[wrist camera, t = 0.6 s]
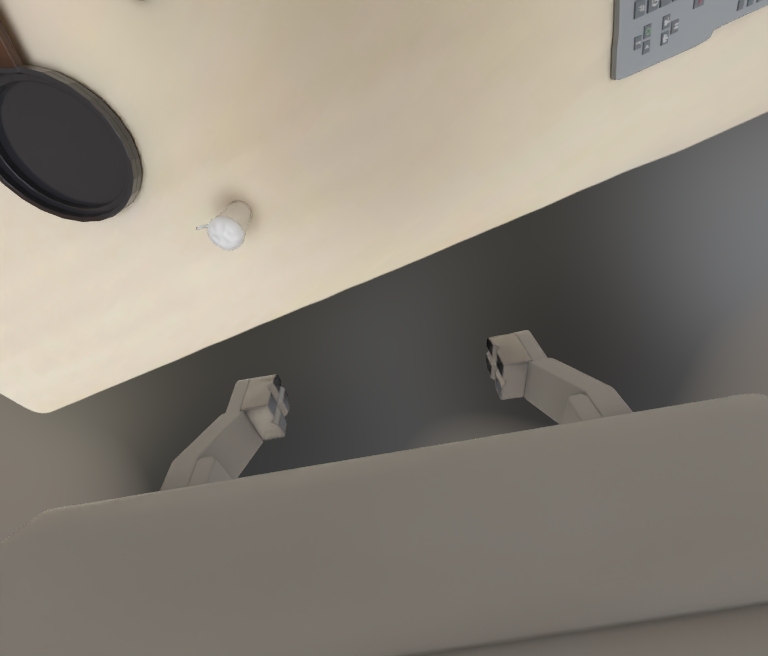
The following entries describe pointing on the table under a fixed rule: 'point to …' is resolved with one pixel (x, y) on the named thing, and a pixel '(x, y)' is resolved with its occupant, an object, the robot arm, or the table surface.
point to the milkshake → (229, 226)
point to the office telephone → (667, 28)
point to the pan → (64, 146)
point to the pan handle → (8, 52)
